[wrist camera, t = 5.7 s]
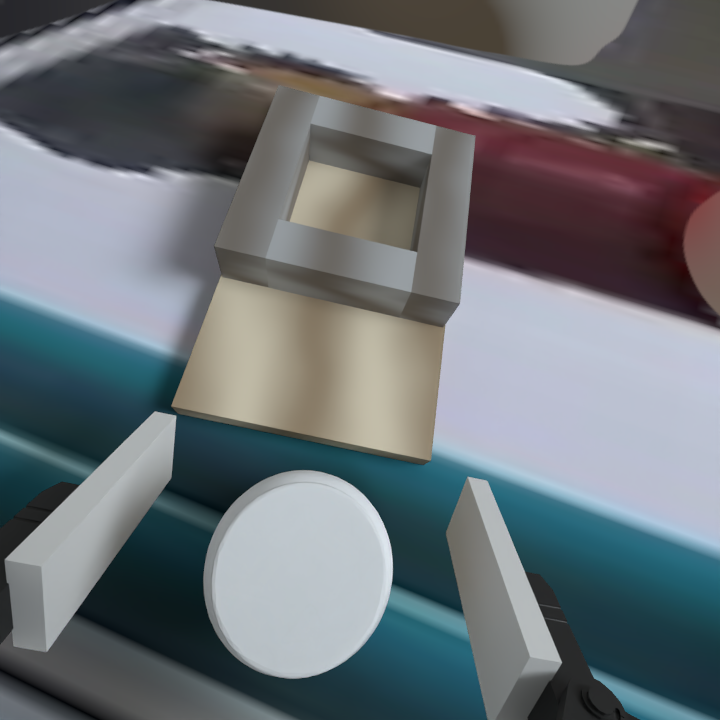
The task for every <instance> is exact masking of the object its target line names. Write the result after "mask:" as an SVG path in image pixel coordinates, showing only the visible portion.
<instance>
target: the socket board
mask: <svg viewBox="0 0 720 720" xmlns="http://www.w3.org/2000/svg"><path fill="white" fill-rule="evenodd" d="M474 145H475V136H473V135H469V134H466V133H462V132H458V131H454V130H450V129H446V128H442V127H438V126H435V125H431V124H427V123H423V122H419V121H415V120H411V119H407V118H404V117H400V116H396V115H392V114H388V113H384V112H380V111H376V110H373V109H369V108H365V107H361V106H357V105H353V104H349V103H345V102H341V101H338V100H334V99H330V98H326V97H322V96H318V95H314V94H310V93H307V92H303V91H299V90H295V89H291V88H287V87H283V86H278V89H277V91H276V94H275V96H274V99H273V101H272V104H271V106H270V109H269V111H268V114H267V116H266V118H265V121H264V123H263V126H262V128H261V131H260V133H259V136H258V138H257V141H256V143H255V146H254V148H253V151H252V153H251V156H250V158H249V161H248V163H247V166H246V168H245V171H244V173H243V175H242V178H241V180H240V183H239V185H238V188H237V190H236V193H235V195H234V198H233V200H232V203H231V205H230V208H229V210H228V213H227V215H226V218H225V220H224V223H223V225H222V228H221V230H220V233H219V235H218V237H217V240H216V242H215V245H214V248H215V252H216V255H217V259H218V263H219V266H220V270H221V273H222V274H221V277H220V279H219V282H218V285H217V287H216V290H215V293H214V295H213V298H212V300H211V303H210V306H209V308H208V311H207V314H206V316H205V319H204V321H203V324H202V327H201V329H200V332H199V335H198V337H197V340H196V342H195V345H194V348H193V350H192V353H191V356H190V358H189V361H188V363H187V366H186V369H185V371H184V374H183V377H182V379H181V382H180V384H179V387H178V390H177V392H176V395H175V398H174V400H173V403H172V405H171V407H172V408H173V409H174V410H175V411H176V412H177V413H178V414H182V415H187V416H192V417H197V418H202V419H206V420H211V421H216V422H221V423H226V424H230V425H235V426H240V427H245V428H249V429H254V430H259V431H264V432H269V433H273V434H278V435H283V436H288V437H292V438H297V439H302V440H307V441H312V442H316V443H321V444H326V445H331V446H335V447H340V448H345V449H350V450H355V451H359V452H364V453H369V454H374V455H378V456H383V457H388V458H393V459H398V460H402V461H407V462H412V463H417V464H421V465H424V464H426V463H428V462H429V461H431V454H432V444H433V435H434V426H435V416H436V407H437V398H438V388H439V379H440V369H441V360H442V351H443V341H444V332H445V324H446V323H447V321H448V320H449V318H450V317H451V316H452V314H453V313H454V311H455V310H456V308H457V307H458V306H459V304H460V297H461V286H462V275H463V264H464V253H465V242H466V232H467V221H468V210H469V199H470V188H471V177H472V167H473V156H474Z"/></svg>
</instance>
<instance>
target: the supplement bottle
mask: <svg viewBox="0 0 720 720" xmlns="http://www.w3.org/2000/svg"><path fill="white" fill-rule="evenodd" d="M392 573H393V561H392V551H391V545H390V541H389V537H388V534H387V531H386V529H385V526H384V524H383V522H382V520H381V518H380V516H379V514H378V512H377V511H376V509H375V508H374V507H373V505H372V504H371V503H370V501H369V500H368V499H367V498H366V497H365V496H364V495H363V494H362V493H361V492H360V491H359V490H357V489H356V488H355V487H354V486H352V485H351V484H349V483H347V482H346V481H344V480H342V479H340V478H338V477H336V476H333V475H330V474H326V473H323V472H317V471H312V470H297V471H289V472H284V473H280V474H277V475H274V476H271V477H269V478H267V479H264V480H262V481H261V482H259V483H257V484H256V485H254V486H253V487H251V488H250V489H249V490H247V491H246V492H245V493H244V494H242V495H241V496H240V497H239V498H238V499H237V500H236V501H235V502H234V503H233V504H232V505H231V506H230V508H229V509H228V510H227V511H226V513H225V514H224V516H223V517H222V519H221V520H220V522H219V524H218V526H217V528H216V530H215V532H214V534H213V536H212V539H211V542H210V544H209V547H208V551H207V555H206V560H205V566H204V577H203V585H204V597H205V603H206V607H207V611H208V615H209V619H210V621H211V623H212V625H213V627H214V630H215V632H216V633H217V635H218V637H219V638H220V640H221V641H222V643H223V644H224V645H225V647H226V648H227V649H228V650H229V651H230V652H231V653H232V654H233V655H234V656H235V657H236V658H237V659H238V660H240V661H241V662H242V663H244V664H245V665H247V666H249V667H250V668H252V669H254V670H256V671H259V672H261V673H264V674H267V675H271V676H275V677H281V678H288V679H298V678H306V677H310V676H314V675H318V674H321V673H323V672H326V671H328V670H330V669H333V668H335V667H336V666H338V665H340V664H341V663H343V662H345V661H346V660H347V659H349V658H350V657H351V656H352V655H354V654H355V653H356V652H357V651H358V650H359V649H360V648H361V647H362V646H363V645H364V644H365V642H366V641H367V640H368V639H369V637H370V636H371V635H372V633H373V632H374V630H375V629H376V627H377V625H378V624H379V622H380V620H381V618H382V615H383V613H384V611H385V608H386V605H387V602H388V599H389V595H390V590H391V584H392Z"/></svg>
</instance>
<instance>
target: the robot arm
mask: <svg viewBox="0 0 720 720" xmlns="http://www.w3.org/2000/svg"><path fill="white" fill-rule="evenodd" d="M175 425H176V416H174V415H169V414H165V413H160V412H154V413H153V414H152V415H151V416H150V417H149V418H148V419H147V420H146V421H145V422H144V423H143V424H142V425H141V426H140V427H139V428H138V429H137V430H136V431H135V432H134V433H133V434H132V435H130V436H129V437H128V438H127V439H126V440H125V441H124V442H123V443H122V444H121V445H120V446H119V447H118V448H117V449H116V450H115V451H114V452H113V453H112V454H111V455H110V456H109V457H108V458H107V459H106V460H105V461H104V462H103V463H102V464H101V465H100V466H99V467H98V468H97V469H96V470H95V471H94V472H93V473H92V474H91V475H90V476H89V477H88V478H87V479H86V480H85V481H84V482H83V483H82V484H81V485H76V484H71V483H66V482H60V483H58V484H56V485H54V486H52V487H50V488H48V489H46V490H44V491H42V492H41V493H40V494H39V495H38V496H37V497H35V498H34V499H33V500H32V501H31V502H30V503H29V504H28V505H27V506H26V508H23V509H22V510H21V511H20V512H19V513H17V514H16V515H15V516H14V518H13V520H12V519H11V520H10V521H8V522H7V523H6V524H5V525H4V526H3V527H2V528H1V529H0V644H1V643H2V642H3V640H4V639H5V638H6V637H7V636H8V634H9V633H10V632H11V631H12V637H13V647H19V648H24V649H30V650H36V651H42V652H47V651H48V650H49V648H50V647H51V646H52V644H53V643H54V641H55V640H56V639H57V637H58V636H59V634H60V633H61V632H62V630H63V629H64V627H65V626H66V625H67V623H68V622H69V620H70V619H71V618H72V616H73V615H74V613H75V612H76V611H77V609H78V608H79V606H80V605H81V604H82V602H83V601H84V599H85V598H86V597H87V595H88V594H89V592H90V591H91V590H92V588H93V587H94V585H95V584H96V583H97V581H98V580H99V578H100V577H101V576H102V574H103V573H104V571H105V570H106V569H107V567H108V566H109V564H110V563H111V562H112V560H113V559H114V557H115V556H116V555H117V553H118V552H119V550H120V549H121V548H122V546H123V545H124V543H125V542H126V541H127V539H128V538H129V536H130V535H131V534H132V532H133V531H134V529H135V528H136V527H137V525H138V524H139V522H140V521H141V520H142V518H143V517H144V515H145V514H146V513H147V511H148V510H149V508H150V507H151V506H152V504H153V503H154V501H155V500H156V499H157V497H158V496H159V494H160V493H161V492H162V490H163V489H164V487H165V486H166V485H167V483H168V482H169V480H170V479H171V476H172V463H173V450H174V438H175ZM446 535H447V540H448V544H449V549H450V553H451V558H452V562H453V567H454V571H455V575H456V580H457V584H458V589H459V593H460V598H461V602H462V607H463V611H464V616H465V620H466V625H467V629H468V634H469V638H470V642H471V647H472V651H473V656H474V660H475V665H476V669H477V674H478V678H479V683H480V687H481V692H482V696H483V700H484V705H485V709H486V714H487V718H488V720H639V719H637V718H636V717H634V716H632V715H630V714H628V713H627V712H625V710H624V708H623V706H622V704H621V703H620V701H619V700H618V699H617V698H616V696H615V695H614V694H613V693H612V691H611V690H609V689H608V688H607V687H606V686H605V685H603V684H602V683H601V682H600V681H598V680H596V679H594V678H593V676H592V674H591V672H590V669H589V667H588V665H587V663H586V661H585V659H584V656H583V654H582V652H581V650H580V648H579V646H578V643H577V641H576V639H575V637H574V635H573V633H572V631H571V628H570V626H569V624H567V620H566V618H565V615H564V613H563V611H562V610H561V609H560V608H561V607H560V605H559V603H558V600H557V598H556V596H555V594H554V592H553V590H552V589H551V588H550V586H549V585H548V584H547V583H546V582H545V580H544V579H543V578H542V577H541V576H540V575H539V574H534V573H529V572H525V571H524V569H523V567H522V564H521V562H520V559H519V557H518V554H517V552H516V550H515V547H514V545H513V542H512V540H511V537H510V535H509V533H508V530H507V528H506V525H505V523H504V520H503V518H502V516H501V513H500V511H499V508H498V506H497V503H496V501H495V499H494V496H493V494H492V491H491V489H490V486H489V484H488V482H487V481H485V480H481V479H476V478H471V477H467V480H466V482H465V485H464V488H463V490H462V493H461V495H460V498H459V500H458V503H457V506H456V508H455V511H454V513H453V516H452V519H451V521H450V524H449V526H448V529H447V531H446Z"/></svg>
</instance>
